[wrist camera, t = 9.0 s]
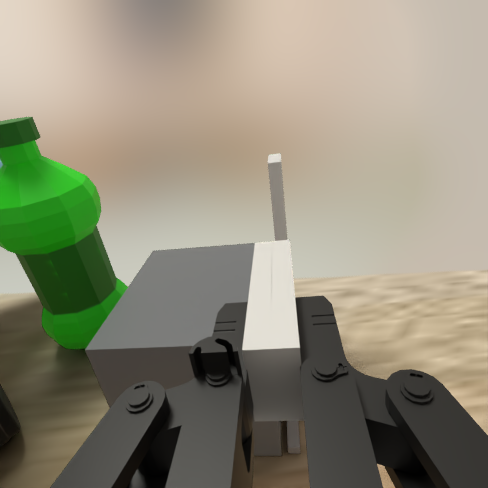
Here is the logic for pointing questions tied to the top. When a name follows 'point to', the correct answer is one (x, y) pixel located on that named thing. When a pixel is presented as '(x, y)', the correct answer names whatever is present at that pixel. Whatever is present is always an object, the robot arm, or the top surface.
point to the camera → (7, 419)
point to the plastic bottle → (55, 236)
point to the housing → (176, 326)
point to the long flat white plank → (277, 196)
